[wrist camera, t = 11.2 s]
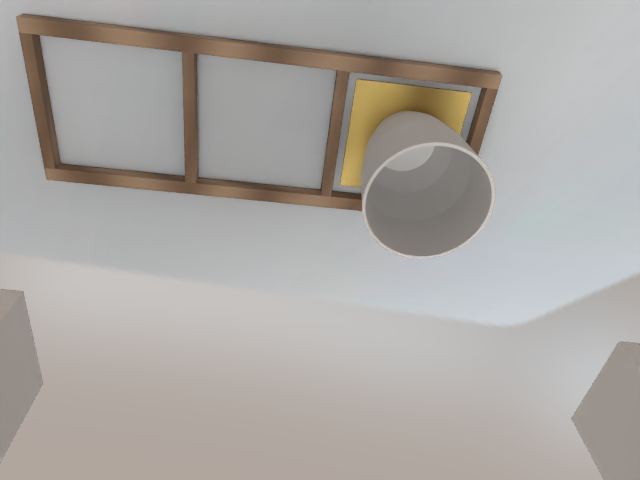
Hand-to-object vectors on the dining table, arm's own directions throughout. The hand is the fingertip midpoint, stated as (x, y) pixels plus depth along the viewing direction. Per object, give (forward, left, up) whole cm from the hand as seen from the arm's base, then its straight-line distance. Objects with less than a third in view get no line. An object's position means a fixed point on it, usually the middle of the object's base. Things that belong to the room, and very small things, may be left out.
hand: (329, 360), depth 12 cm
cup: (+7, -6, -30) cm, 31 cm away
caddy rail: (-4, -6, -29) cm, 30 cm away
